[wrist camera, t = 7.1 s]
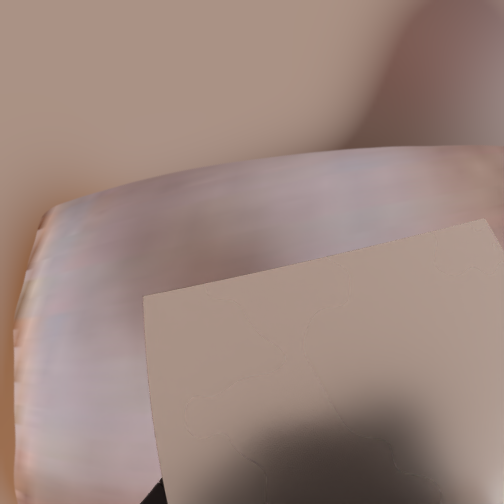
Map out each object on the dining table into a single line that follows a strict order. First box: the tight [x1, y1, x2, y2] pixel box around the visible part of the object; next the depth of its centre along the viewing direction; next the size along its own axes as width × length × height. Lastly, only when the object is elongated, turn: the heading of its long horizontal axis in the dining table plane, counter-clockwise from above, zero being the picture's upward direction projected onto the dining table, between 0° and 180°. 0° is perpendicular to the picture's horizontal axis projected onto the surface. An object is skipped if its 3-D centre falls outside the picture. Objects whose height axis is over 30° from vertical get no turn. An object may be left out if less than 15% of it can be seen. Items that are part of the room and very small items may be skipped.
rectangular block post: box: [143, 218, 504, 504], centre depth 8 cm, size 5×5×12 cm
